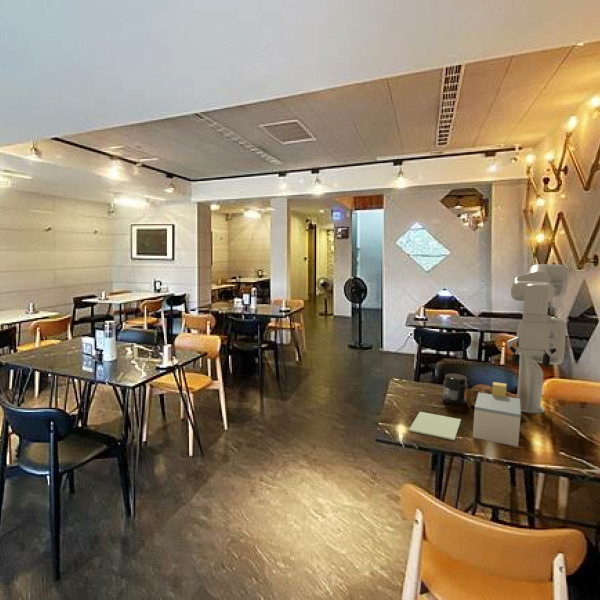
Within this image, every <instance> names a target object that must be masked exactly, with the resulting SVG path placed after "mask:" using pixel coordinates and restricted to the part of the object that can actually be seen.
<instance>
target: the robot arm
mask: <svg viewBox="0 0 600 600" xmlns="http://www.w3.org/2000/svg"><path fill="white" fill-rule="evenodd" d="M568 282H569V270H568V268H567V267H566V266H565V265H563V264H548V263H547V264H546V263H545V264H544V263H540V264H539V263H538V264H534V265H532V266H530V267H529V269H528V270H527V273H525V274H521V275H520V274H519V275H518V276H515V278H514V279H513V281H512V284H511V287H510V296H511V299H513V300H514V301H517V302H523V309H522V320H519V323H518V326H517V330H516V336H515V337H514V338H511V339H509V340H506V341H505V342H506V344H507V347H508V348H509V350H510V351H511V352H512V353H513V356H512V362H513V363H514V365H515V366H519V369H518V370H519V371H518V381H517V382H518V383H517V394H516V397H518V398H519V399H520V401H521V405H520V410H521V413H522V412H523V413H526V414H535V415H536V414H543V413H544V412H545V408H544V407H543V406H542V404H541V403H542V395H543V394H542V393H543V381H544V371H543V369H542V368H541V366H540V365H539V364H542V365H543V366H544V367H546V368H548V367H549V365H556V366H557V365H561V364H562V363H563V362H564V359H565V353H566V352H565V349H566V336H567V334H566V333H567V327H566V326H567V325H566V322H565V321H564V319H562V318H557V317H552V315H549V314H548V310H549V303H550V302H552V300H554V298H561V297H564V296H565V295H566V293H567V289H568ZM514 343H515V347H514V346H513V344H514Z"/></svg>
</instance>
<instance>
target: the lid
mask: <svg viewBox="0 0 600 600" xmlns="http://www.w3.org/2000/svg"><path fill="white" fill-rule="evenodd" d="M492 387H493V389H492V394H486V393H479V392H478V396H477V400H476V404H475V406H474V410H479V411H484V412H490V413H496V414H502V415H507V416H513V417H519V418H520V419H521V417H522V415H521V414H522V411H521V410H520V399H518V398H511V397H506V391H507V383H504V382H503V383H502V382H495V381H493V382H492Z"/></svg>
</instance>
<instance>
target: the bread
mask: <svg viewBox="0 0 600 600" xmlns="http://www.w3.org/2000/svg"><path fill="white" fill-rule="evenodd" d="M492 389H493V386H490V385H489V384H485V383H484V384H483V383H481V384H480V383H479V384H476V385H473V386H472V388H471V390H470V393H469V394H470V395H469V396H470V397H469V398H470V399H469V401H470V405H472V407H475V404H476V400H477V396H478V392H479V393H486V394H492ZM506 397H511V398H518V397H517V395H515V394H513V393H511V392H509V391H507V390H506ZM518 399H519V398H518ZM520 405H521V401H520Z"/></svg>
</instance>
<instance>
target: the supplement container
mask: <svg viewBox="0 0 600 600" xmlns="http://www.w3.org/2000/svg"><path fill="white" fill-rule="evenodd" d="M444 379H445V380H444V381H443V391H442V392H443V393H442V399H443V400H444V401H445V402H446V403H449V404H454V405H462V404H465V403H466V402H467V390H468V384H467V377H466V376H465V375H463V374H460V373H459V374H458V373H447V374H445V376H444Z"/></svg>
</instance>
